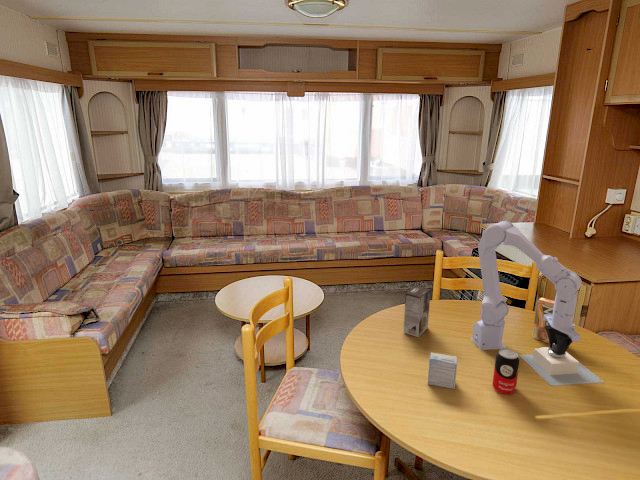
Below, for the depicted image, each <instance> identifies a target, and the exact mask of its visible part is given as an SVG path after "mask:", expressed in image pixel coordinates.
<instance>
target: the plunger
mask: <svg viewBox="0 0 640 480" xmlns="http://www.w3.org/2000/svg"><path fill="white" fill-rule="evenodd" d="M548 348H549V349H548V353H549V354H550V355H552V356H554V357H558V358H563V357H565V356H566V353H565V354H562V355H558V354H557V341H554V342H553V344H552V349H551V348H550V347H548Z"/></svg>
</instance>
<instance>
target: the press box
mask: <svg viewBox="0 0 640 480" xmlns="http://www.w3.org/2000/svg"><path fill="white" fill-rule="evenodd" d="M549 348H550V347H548V346H543V347H542V346H541V347H540V348H537V347H536V348H535V347H534V349H533V360H534V361H535V362H536V363H537V364H538V365H539V366H540V367H542V368H543V369H544V370H545V371H546V372H547V373H548V374H549V375H562V374H577V372H578V367H579V363H580V361H579V360H577V359H576V358H575V357H573V355H571V354H570V353H569V352H568V351H566V352H565V353H566V356H565V357H563V358H558V357H554V356H552V355H550V354H549V353H548V349H549Z"/></svg>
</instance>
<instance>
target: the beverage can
mask: <svg viewBox="0 0 640 480" xmlns="http://www.w3.org/2000/svg"><path fill="white" fill-rule="evenodd" d="M520 362H521V361H520V358H519V354H518V353H517V352H516V351H514V350H512V349H508V348H506V349H498V352H497V354H496V355H495V362H494V367H493V376H492V384H491V386H492V387H493V389H494V390H495V391H496V392H497V393H499V394H502V395H511V394H513V393H515V392H516V390H517V384H518V377H519V369H520V364H521V363H520Z"/></svg>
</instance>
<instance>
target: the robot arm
mask: <svg viewBox="0 0 640 480" xmlns="http://www.w3.org/2000/svg"><path fill="white" fill-rule="evenodd" d="M500 245H504V246H512V247H516V248H517V249H518V250H519V251H520V252H522V253H523V254H524V255H526V256H527V257H528V258H530V259H531V260H532V261H533V262H534V263H535V269H537V270H538V271H539V273H541V274H542V275H543V276H544V277H545V278H546V279H548V280H549V281H550V282H551V283H552V284H553V285H554V289H555V291H556V293H555V298H554V301H555V302H554V308H553V314H552V315H550V314H544V318H543V320H544V321H548V322H549V324H550V325H547V326H545V329H546V331H547V334H548V339H549V343H548V344H549V348H551V349H552V344H553V342H554V341H557V354H558V355H562V354H565V352H567V350H568V348H569V347H570V346H571V344H572V343H577V342H581V337H582V336H581V335H580V334H579V333H578V332H577V330H576V328H575V326H576V325H575V323H574V320H575V319H574V318H575V312H576V308H577V303H578V299H577V298H578V295H579V294H578V293H579V289H580V288H581V287H582V284H583V281H582V278H581V277H580V276H579V274H578V273H576V272H574V271H571V269H568V268H566V267H565V266H564V265H563V264H561V263H560V262H559V258H558V257H556V256H554V257H553V256H552V255H550V254H549V255H547V254H544V253H543V252H542V251H541V250H540V249H538V248H537V246H535V245H534V243H533V242H532V241H530V240H529V239H528V238H527V237H526V236H525V235H524V234H523V233H522V231H521V230H520V229H519V228H518V227H517V226H516V225H514V224H513V223H512V222H510V221H509V220H501V221H499V222H497V223H495V224H491V225H489V226H488V227H485V229H484V230H483V231H482V236H481V238H480V240H479V242H478V244H477V246H478V247H477V248H478V249H477V251H478V258H479V264H480V271H481V272H480V273H481V279H482V280H481V281H482V287H483V300H482V301H481V310H480V312H479V315H480V317H479V318H480V319H481V320H478V321H475V322H474V323H473V328H472V337H471V338H470V339H471V341H473V343H475V345H476V346H477V347H478V348H479V349H480V350H482V351H484V350H485V351H486V350H487V351H488V350H501V349H507V347H506V345H504V343H503V340H504V331H505V324H506V323H505V322H506V321H505V317H506V316H507V315H509V311H510V309H509V306H508V304H507V303H506V300H505V296H503V294H501V285H500V277H499V270H498V269H499V268H498V261H497V254H496V249H498V248H499V246H500Z"/></svg>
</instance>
